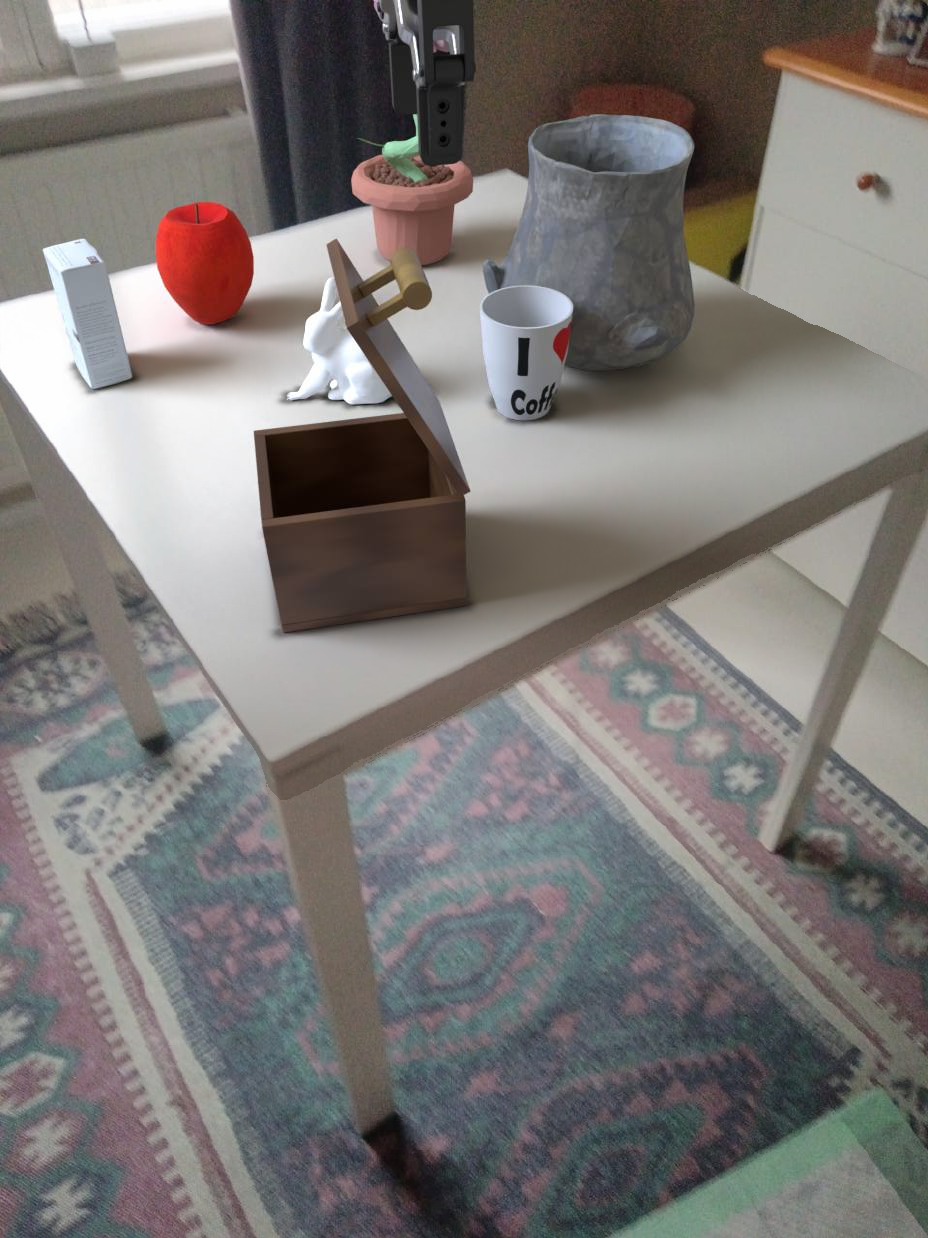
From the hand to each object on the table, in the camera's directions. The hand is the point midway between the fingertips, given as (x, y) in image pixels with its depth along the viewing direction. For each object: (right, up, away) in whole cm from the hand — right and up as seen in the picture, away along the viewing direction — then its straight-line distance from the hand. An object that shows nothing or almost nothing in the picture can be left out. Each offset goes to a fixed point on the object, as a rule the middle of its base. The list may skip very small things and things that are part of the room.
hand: (425, 136), depth 55 cm
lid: (-2, -11, +10) cm, 15 cm away
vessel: (+16, 0, +45) cm, 48 cm away
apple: (-25, +5, +50) cm, 56 cm away
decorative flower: (-3, +16, +61) cm, 63 cm away
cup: (+8, -7, +37) cm, 39 cm away
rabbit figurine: (-8, -5, +40) cm, 41 cm away
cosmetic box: (-34, -3, +42) cm, 54 cm away
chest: (-5, -23, +21) cm, 32 cm away
